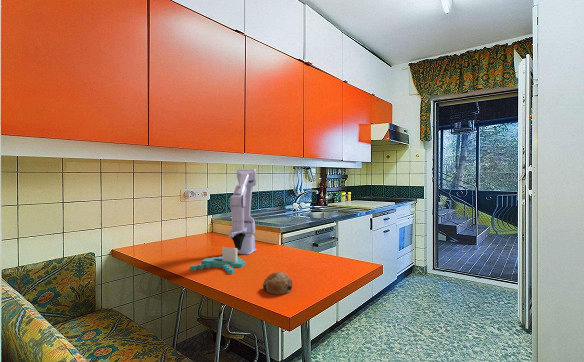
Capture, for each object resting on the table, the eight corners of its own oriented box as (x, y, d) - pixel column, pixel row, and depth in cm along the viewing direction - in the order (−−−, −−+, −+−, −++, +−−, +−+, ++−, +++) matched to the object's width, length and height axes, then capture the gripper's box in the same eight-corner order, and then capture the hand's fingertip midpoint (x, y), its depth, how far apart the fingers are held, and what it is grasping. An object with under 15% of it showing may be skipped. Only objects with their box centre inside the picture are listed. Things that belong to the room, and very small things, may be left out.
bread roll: (280, 306, 108) (289, 286, 107) (255, 290, 111) (264, 271, 110) (291, 295, 117) (299, 277, 116) (268, 281, 121) (276, 263, 119)
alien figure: (232, 275, 131) (251, 261, 150) (232, 270, 131) (251, 257, 150) (190, 271, 137) (213, 258, 156) (189, 266, 137) (213, 254, 156)
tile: (224, 259, 147) (224, 246, 146) (237, 261, 144) (237, 248, 144) (222, 260, 145) (222, 247, 145) (235, 262, 142) (235, 248, 142)
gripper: (238, 223, 141) (238, 254, 141) (252, 218, 155) (252, 246, 155) (224, 222, 143) (224, 252, 144) (239, 218, 157) (239, 245, 157)
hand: (238, 249), depth 150 cm, fingers closed
